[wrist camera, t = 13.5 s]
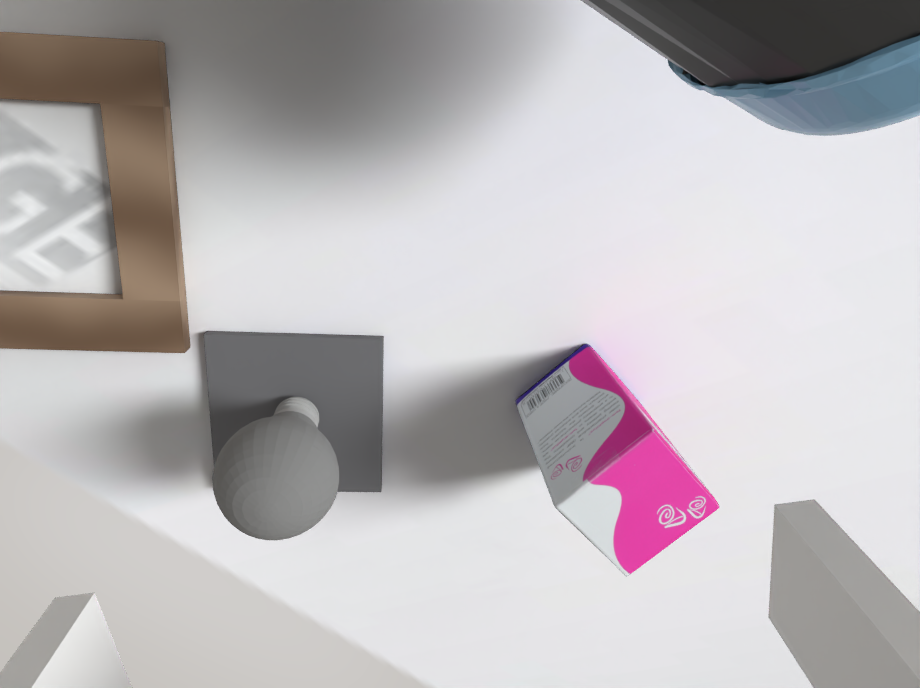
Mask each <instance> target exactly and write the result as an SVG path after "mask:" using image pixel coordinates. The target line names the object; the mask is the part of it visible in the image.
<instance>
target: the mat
mask: <svg viewBox="0 0 920 688" xmlns="http://www.w3.org/2000/svg"><path fill="white" fill-rule="evenodd" d="M383 339H384V336H364V335H329V334H293V333H258V332H223V331H207V332H206V333H205V334H204V343H205V356H206V369H207V382H208V394H209V407H210V420H211V433H212V446H213V458H214V465H215V463H216V460H217V458H218V455H219V453H220V451H221V450H222V448H223V447H224V445H225V444H226V443H227V441H228V440H229V439H230V438H231V437H232V436H233V435H234V434H235V433H236V432H237V431H238V430H240V429H241V428H243V427H244V426H246V425H248V424H249V423H251V422H253V421H256V420H259V419H261V418H266V417H272V416H273V415H274V413H275V411H276V408H277V406H278V405H279V404H280V403H281V402H282V401H283V400H285V399H287V398H290V397H302V398H305V399H307V400H309V401H311V402H312V403H313V404H314V405H315V407H316V408H317V410H318V413H319V423H318V427H317V428H318V430H319V431H320V432H321V433H322V434H323V435H324V436H325V437H326V438H327V440H328V441H329V442H330V444H331V446H332V448H333V450H334V452H335V454H336V458H337V462H338V466H339V486H338V490H337V492H381V486H382V412H383Z"/></svg>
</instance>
